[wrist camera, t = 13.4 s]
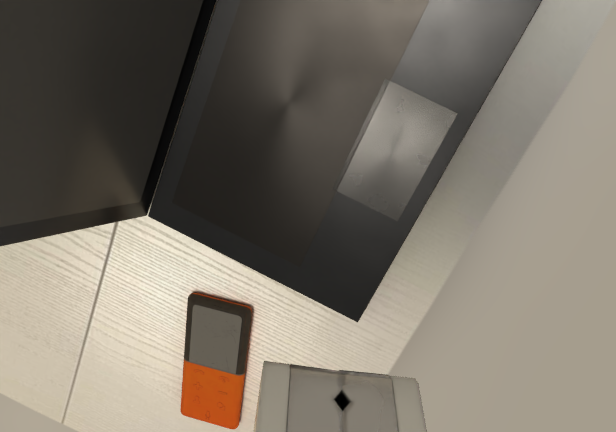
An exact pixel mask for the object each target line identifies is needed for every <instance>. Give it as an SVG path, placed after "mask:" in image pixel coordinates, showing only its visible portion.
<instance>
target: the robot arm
mask: <svg viewBox="0 0 616 432" xmlns="http://www.w3.org/2000/svg"><path fill="white" fill-rule="evenodd" d="M254 432H427V430H426V425H425V419H424V413H423V407H422V402H421V397H420V391H419V385H418V383H417V381H416V379H414V378H407V377H397V376H389V375H384V374H374V373H364V372H354V371H344V370H339V371H335V370H328V369H321V368H314V367H306V366H299V365H292V364H290V365H289V364H284V363H276V362H268V361H264V363H263V369H262V376H261V383H260V390H259V396H258V403H257V410H256V417H255V424H254Z"/></svg>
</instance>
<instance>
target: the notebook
mask: <svg viewBox="0 0 616 432" xmlns="http://www.w3.org/2000/svg"><path fill="white" fill-rule="evenodd" d="M541 2H542V0H218V2H217V5H216V8H215V11H214V14H213V17H212V20H211V23H210V27H209V30H208V33H207V36H206V39H205V42H204V45H203V48H202V51H201V54H200V57H199V61H198V64H197V67H196V70H195V73H194V76H193V79H192V82H191V85H190V88H189V91H188V94H187V98H186V101H185V104H184V107H183V110H182V113H181V116H180V119H179V122H178V125H177V128H176V132H175V135H174V138H173V141H172V144H171V147H170V150H169V153H168V156H167V159H166V162H165V166H164V169H163V172H162V175H161V178H160V181H159V184H158V187H157V190H156V193H155V196H154V199H153V203H152V206H151V209H150V212H149V215H148V216H149V217H151V218H153V219H155V220H157V221H159V222H161V223H163V224H164V225H166V226H168V227H170V228H172V229H174V230H176V231H178V232H180V233H182V234H184V235H186V236H188V237H190V238H192V239H194V240H196V241H198V242H200V243H202V244H204V245H206V246H208V247H210V248H212V249H214V250H216V251H218V252H220V253H222V254H224V255H226V256H228V257H230V258H232V259H234V260H236V261H238V262H240V263H242V264H244V265H246V266H248V267H250V268H252V269H254V270H255V271H257V272H259V273H261V274H263V275H265V276H267V277H269V278H271V279H273V280H275V281H277V282H279V283H281V284H283V285H285V286H287V287H289V288H291V289H293V290H295V291H297V292H299V293H301V294H303V295H305V296H307V297H309V298H311V299H313V300H315V301H317V302H319V303H321V304H323V305H325V306H327V307H329V308H331V309H333V310H335V311H337V312H339V313H341V314H343V315H345V316H346V317H348V318H350V319H352V320H354V321H356V322H358V321H359V319H360V318H361V316H362V314H363V312H364V311H365V309H366V307H367V305H368V304H369V302H370V300H371V298H372V297H373V295H374V293H375V291H376V290H377V288H378V286H379V284H380V283H381V281H382V279H383V277H384V276H385V274H386V272H387V270H388V269H389V267H390V265H391V263H392V262H393V260H394V258H395V256H396V255H397V253H398V251H399V249H400V248H401V246H402V244H403V242H404V241H405V239H406V237H407V235H408V234H409V232H410V230H411V228H412V227H413V225H414V223H415V222H416V220H417V218H418V216H419V215H420V213H421V211H422V209H423V208H424V206H425V204H426V202H427V201H428V199H429V197H430V195H431V194H432V192H433V190H434V188H435V187H436V185H437V183H438V181H439V180H440V178H441V176H442V174H443V173H444V171H445V169H446V167H447V166H448V164H449V162H450V160H451V159H452V157H453V155H454V153H455V152H456V150H457V148H458V146H459V145H460V143H461V141H462V139H463V138H464V136H465V134H466V132H467V131H468V129H469V127H470V125H471V124H472V122H473V120H474V119H475V117H476V115H477V113H478V112H479V110H480V108H481V106H482V105H483V103H484V101H485V99H486V98H487V96H488V94H489V92H490V91H491V89H492V87H493V85H494V84H495V82H496V80H497V78H498V77H499V75H500V73H501V71H502V70H503V68H504V66H505V64H506V63H507V61H508V59H509V57H510V56H511V54H512V52H513V50H514V49H515V47H516V45H517V43H518V42H519V40H520V38H521V36H522V35H523V33H524V31H525V29H526V28H527V26H528V24H529V23H530V21H531V19H532V17H533V16H534V14H535V12H536V10H537V9H538V7H539V5H540V3H541Z"/></svg>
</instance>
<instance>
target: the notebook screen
mask: <svg viewBox="0 0 616 432" xmlns="http://www.w3.org/2000/svg"><path fill="white" fill-rule="evenodd" d="M215 2H216V0H0V246H4V245H8V244H13V243H18V242H23V241H27V240H32V239H37V238H42V237H47V236H51V235H56V234H61V233H66V232H70V231H75V230H80V229H85V228H89V227H94V226H99V225H104V224H108V223H113V222H118V221H123V220H127V219H132V218H137V217H142V216H146V215H147V213H148V210H149V207H150V204H151V201H152V198H153V195H154V192H155V188H156V185H157V182H158V179H159V176H160V173H161V170H162V167H163V164H164V161H165V157H166V154H167V151H168V148H169V145H170V142H171V139H172V136H173V133H174V130H175V126H176V123H177V120H178V117H179V114H180V111H181V108H182V105H183V102H184V99H185V95H186V92H187V89H188V86H189V83H190V80H191V77H192V74H193V71H194V68H195V64H196V61H197V58H198V55H199V52H200V49H201V46H202V43H203V40H204V37H205V33H206V30H207V27H208V24H209V21H210V18H211V15H212V12H213V9H214V6H215Z"/></svg>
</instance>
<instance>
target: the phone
mask: <svg viewBox="0 0 616 432" xmlns="http://www.w3.org/2000/svg"><path fill="white" fill-rule="evenodd" d="M251 321H252V309H251V308H250V307H249V306H246V305H242V304H238V303H234V302H230V301H226V300H222V299H218V298H214V297H210V296H206V295H202V294H198V293H192V294H190V295H189V297H188V306H187V321H186V337H185V352H184V365H183V382H182V398H181V413H182V414H183V415H185V416H188V417H191V418H195V419H198V420H202V421H205V422H209V423H212V424H215V425H219V426H222V427H226V428H229V429H236V428H237V427H238V426H239V420H240V412H241V404H242V395H243V387H244V379H245V370H246V362H247V354H248V345H249V337H250V329H251Z"/></svg>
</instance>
